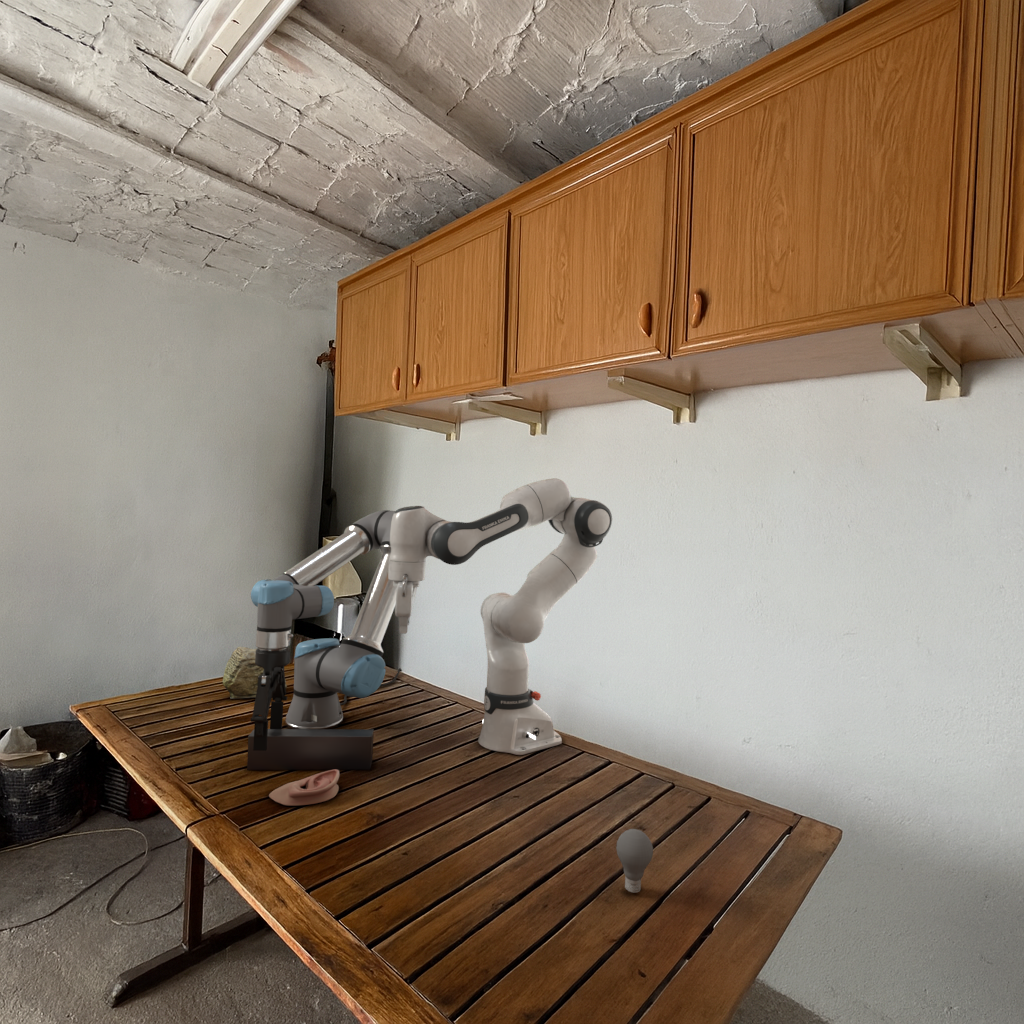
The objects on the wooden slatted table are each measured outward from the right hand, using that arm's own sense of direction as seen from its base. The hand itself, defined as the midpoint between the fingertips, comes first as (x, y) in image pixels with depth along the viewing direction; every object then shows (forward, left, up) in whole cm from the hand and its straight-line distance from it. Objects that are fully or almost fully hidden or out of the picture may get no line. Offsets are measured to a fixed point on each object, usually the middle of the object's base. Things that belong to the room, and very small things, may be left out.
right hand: (404, 628), depth 154 cm
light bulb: (-20, +66, -32) cm, 76 cm away
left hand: (+30, -7, -26) cm, 40 cm away
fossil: (+27, -63, -32) cm, 75 cm away
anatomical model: (+24, +11, -32) cm, 41 cm away
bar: (+20, -3, -32) cm, 38 cm away
